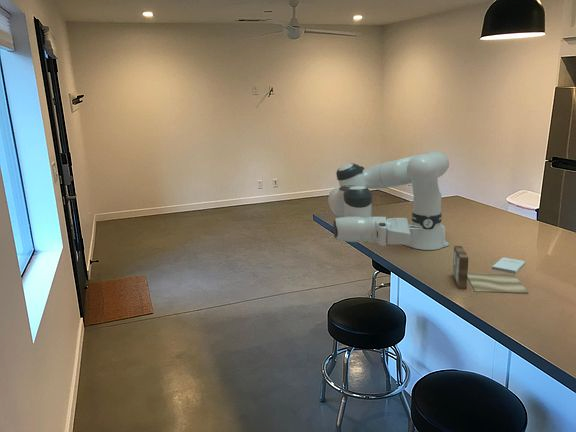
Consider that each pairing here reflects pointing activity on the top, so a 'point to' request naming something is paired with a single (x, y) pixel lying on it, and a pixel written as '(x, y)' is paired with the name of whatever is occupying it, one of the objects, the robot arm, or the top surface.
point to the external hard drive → (508, 265)
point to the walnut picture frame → (460, 267)
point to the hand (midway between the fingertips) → (423, 230)
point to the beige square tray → (496, 283)
